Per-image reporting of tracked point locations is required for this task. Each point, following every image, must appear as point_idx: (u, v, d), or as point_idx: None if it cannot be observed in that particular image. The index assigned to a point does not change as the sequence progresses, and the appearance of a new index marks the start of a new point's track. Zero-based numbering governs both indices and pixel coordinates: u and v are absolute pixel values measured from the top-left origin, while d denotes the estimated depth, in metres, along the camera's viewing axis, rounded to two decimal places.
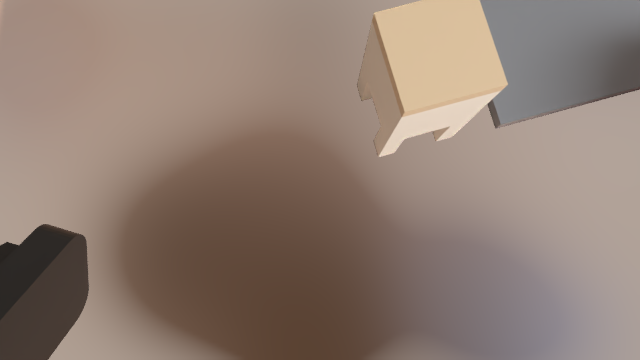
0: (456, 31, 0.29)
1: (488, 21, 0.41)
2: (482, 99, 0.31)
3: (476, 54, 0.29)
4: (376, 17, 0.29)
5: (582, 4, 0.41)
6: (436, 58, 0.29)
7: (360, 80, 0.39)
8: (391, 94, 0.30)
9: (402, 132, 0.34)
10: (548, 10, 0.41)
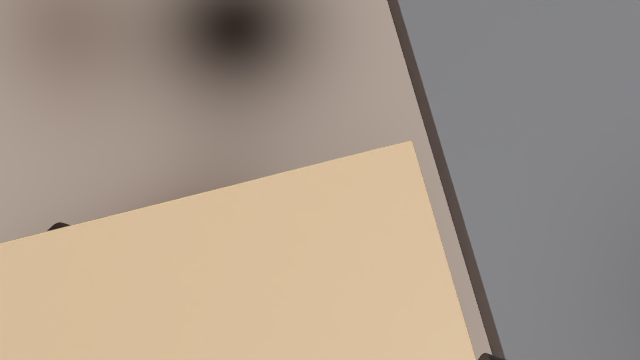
0: None
1: (492, 135, 0.16)
2: None
3: None
4: None
5: None
6: None
7: None
8: None
9: None
10: None
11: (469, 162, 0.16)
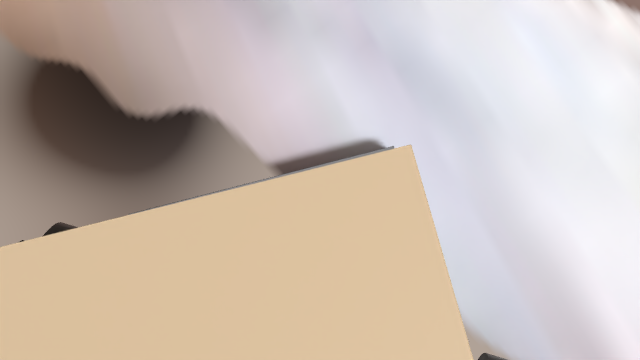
0: None
1: None
2: None
3: None
4: None
5: None
6: None
7: None
8: None
9: None
10: None
11: None
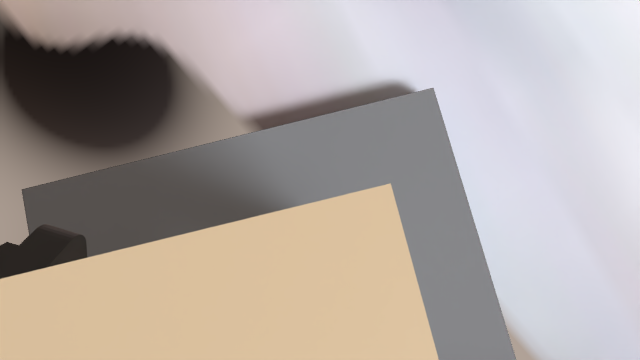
0: None
1: None
2: None
3: None
4: None
5: None
6: None
7: None
8: None
9: None
10: None
11: None
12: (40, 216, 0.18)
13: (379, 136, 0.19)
